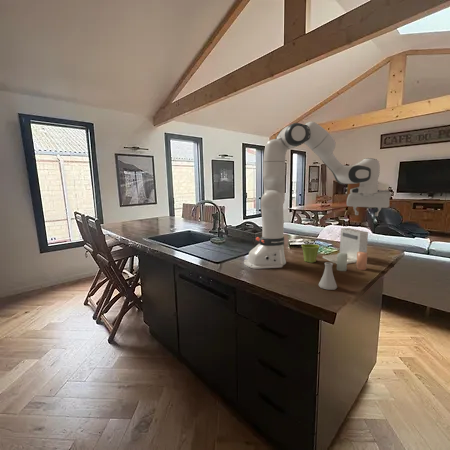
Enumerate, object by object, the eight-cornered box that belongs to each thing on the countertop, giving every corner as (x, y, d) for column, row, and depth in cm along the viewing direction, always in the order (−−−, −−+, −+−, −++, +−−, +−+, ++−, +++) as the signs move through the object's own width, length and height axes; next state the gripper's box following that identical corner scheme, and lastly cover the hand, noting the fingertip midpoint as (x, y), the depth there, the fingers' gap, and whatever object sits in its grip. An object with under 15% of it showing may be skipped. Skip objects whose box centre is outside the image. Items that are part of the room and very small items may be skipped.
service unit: (339, 265, 132) (341, 234, 129) (321, 257, 145) (323, 230, 143) (366, 261, 137) (368, 232, 134) (347, 254, 150) (348, 227, 148)
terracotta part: (361, 270, 123) (362, 254, 122) (354, 267, 127) (355, 252, 126) (368, 269, 125) (369, 253, 123) (361, 266, 129) (362, 251, 127)
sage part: (341, 271, 122) (341, 255, 121) (334, 268, 127) (335, 253, 125) (348, 270, 124) (349, 254, 122) (342, 267, 128) (342, 252, 126)
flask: (337, 291, 101) (338, 267, 99) (318, 289, 103) (319, 265, 102) (336, 284, 107) (338, 261, 106) (318, 282, 110) (319, 260, 108)
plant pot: (299, 258, 145) (300, 243, 143) (317, 258, 143) (317, 243, 142) (302, 263, 136) (302, 247, 134) (320, 264, 134) (321, 248, 133)
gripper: (391, 189, 133) (389, 216, 136) (348, 189, 145) (347, 213, 147) (391, 190, 128) (388, 217, 131) (346, 189, 140) (345, 214, 142)
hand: (366, 215), depth 139 cm, fingers open, 8 cm apart
